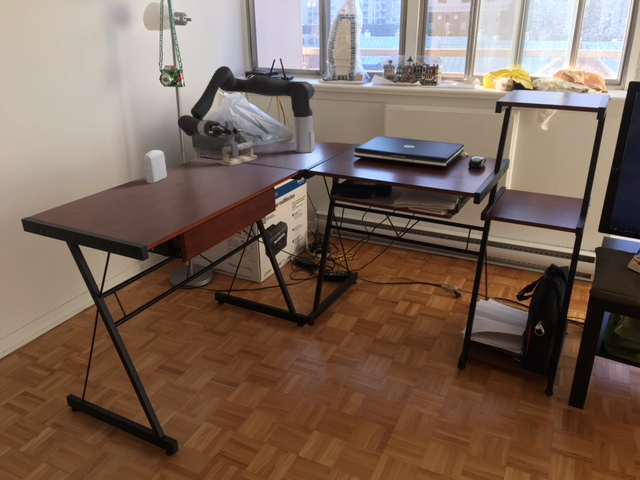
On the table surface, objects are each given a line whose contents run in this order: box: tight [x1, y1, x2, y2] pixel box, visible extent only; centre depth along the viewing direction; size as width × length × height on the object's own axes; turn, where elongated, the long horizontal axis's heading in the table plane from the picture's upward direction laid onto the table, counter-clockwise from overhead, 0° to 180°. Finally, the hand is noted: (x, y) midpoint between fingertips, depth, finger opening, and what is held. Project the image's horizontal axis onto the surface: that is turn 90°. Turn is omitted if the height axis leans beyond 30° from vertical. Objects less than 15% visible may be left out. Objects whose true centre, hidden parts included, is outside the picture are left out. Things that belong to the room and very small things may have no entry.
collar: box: [223, 120, 240, 157], centre depth 247 cm, size 3×6×16 cm, turn 50°
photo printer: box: [142, 149, 168, 184], centre depth 222 cm, size 10×4×12 cm, turn 160°
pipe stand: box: [219, 141, 258, 166], centre depth 252 cm, size 17×7×8 cm, turn 140°
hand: (234, 131), depth 244 cm, fingers closed on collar, 3 cm apart
